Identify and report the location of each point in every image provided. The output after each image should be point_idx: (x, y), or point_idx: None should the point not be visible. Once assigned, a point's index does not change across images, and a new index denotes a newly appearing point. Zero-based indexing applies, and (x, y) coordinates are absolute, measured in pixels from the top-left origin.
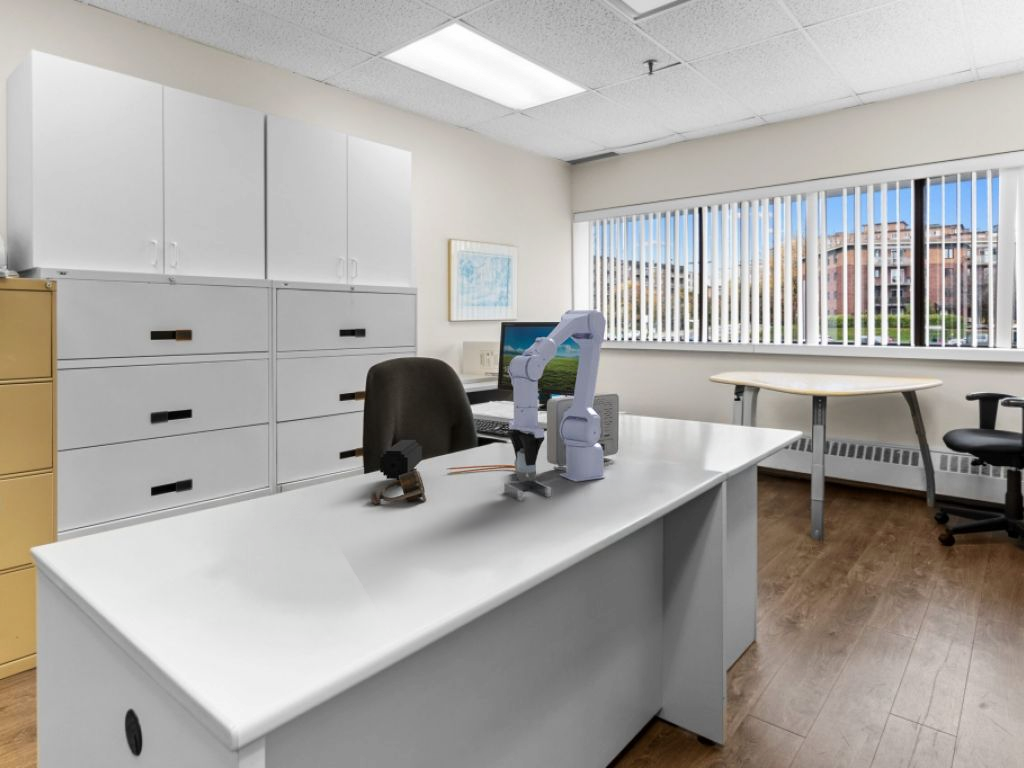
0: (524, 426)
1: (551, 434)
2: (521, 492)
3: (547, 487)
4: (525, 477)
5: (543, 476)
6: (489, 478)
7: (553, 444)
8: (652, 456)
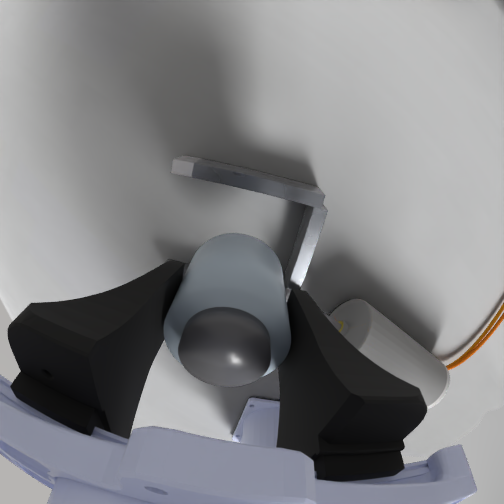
0: (59, 481)
1: None
2: (173, 165)
3: None
4: (341, 319)
5: None
6: (463, 268)
7: None
8: None
